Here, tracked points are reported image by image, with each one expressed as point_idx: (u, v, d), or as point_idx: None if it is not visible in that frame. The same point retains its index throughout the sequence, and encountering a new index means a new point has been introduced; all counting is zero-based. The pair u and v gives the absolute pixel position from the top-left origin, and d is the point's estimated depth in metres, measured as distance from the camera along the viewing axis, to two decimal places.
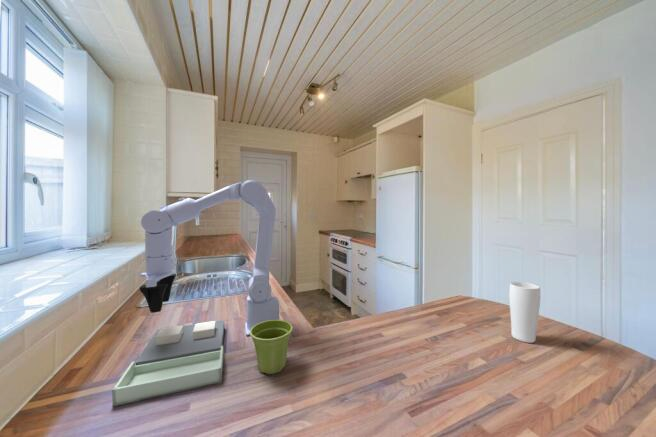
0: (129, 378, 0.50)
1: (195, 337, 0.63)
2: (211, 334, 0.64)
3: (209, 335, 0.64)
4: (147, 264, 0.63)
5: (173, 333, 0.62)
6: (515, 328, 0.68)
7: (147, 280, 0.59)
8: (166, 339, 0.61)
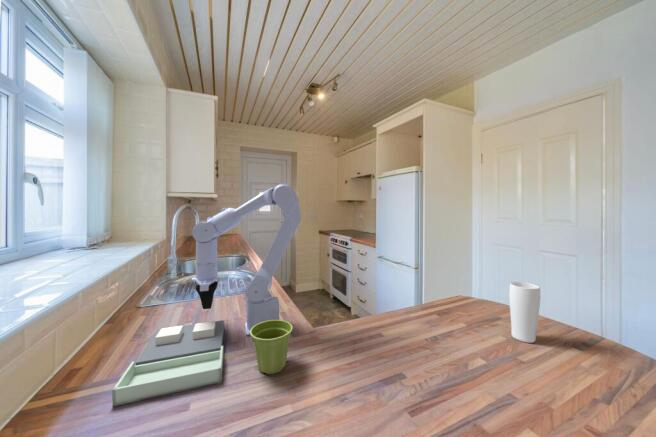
0: (129, 378, 0.50)
1: (195, 337, 0.63)
2: (211, 334, 0.64)
3: (209, 335, 0.64)
4: (198, 270, 0.70)
5: (173, 333, 0.62)
6: (515, 328, 0.68)
7: (201, 285, 0.66)
8: (166, 339, 0.61)
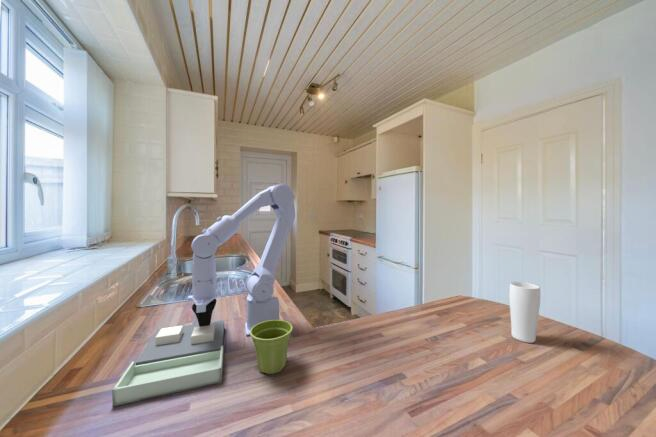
0: (129, 378, 0.50)
1: (194, 342, 0.61)
2: (210, 339, 0.62)
3: (208, 340, 0.62)
4: (194, 288, 0.64)
5: (173, 333, 0.62)
6: (515, 328, 0.68)
7: (197, 306, 0.60)
8: (166, 339, 0.61)
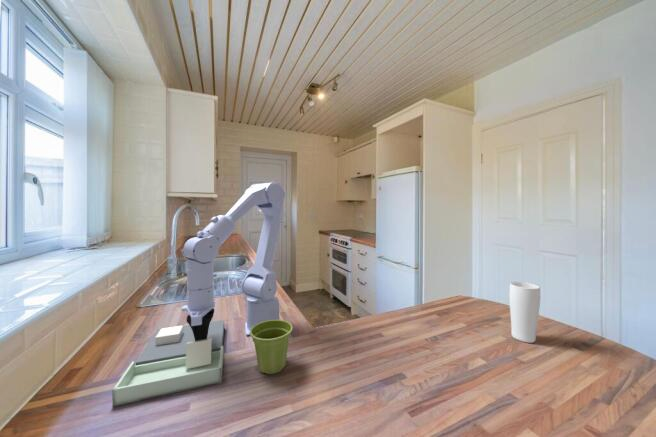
0: (129, 378, 0.50)
1: None
2: None
3: None
4: (189, 297, 0.57)
5: (173, 333, 0.62)
6: (515, 328, 0.68)
7: (193, 318, 0.53)
8: (166, 339, 0.61)
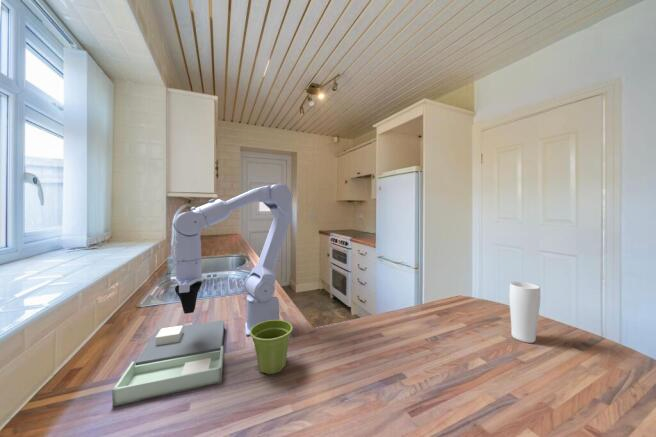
0: (129, 378, 0.50)
1: None
2: None
3: None
4: (178, 268, 0.60)
5: (173, 333, 0.62)
6: (515, 328, 0.68)
7: (180, 285, 0.56)
8: (166, 339, 0.61)
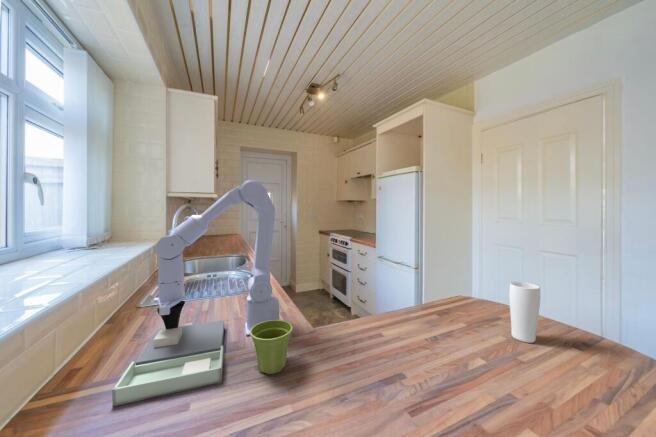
0: (129, 378, 0.50)
1: None
2: None
3: None
4: (160, 290, 0.63)
5: (172, 335, 0.61)
6: (515, 328, 0.68)
7: (160, 308, 0.58)
8: (165, 341, 0.60)
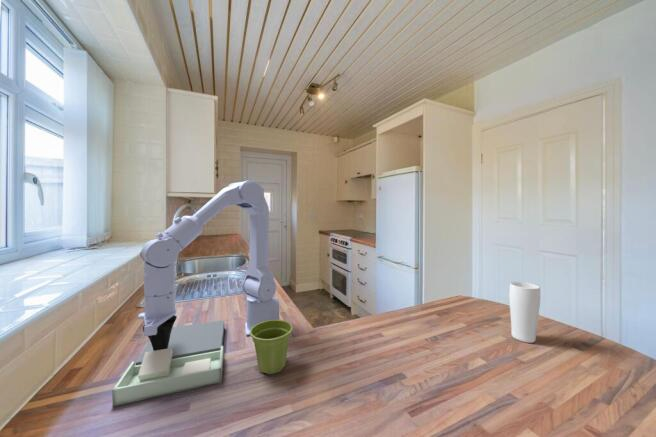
0: (129, 378, 0.50)
1: None
2: None
3: None
4: (146, 304, 0.53)
5: (160, 367, 0.51)
6: (515, 328, 0.68)
7: (146, 327, 0.48)
8: (152, 375, 0.51)
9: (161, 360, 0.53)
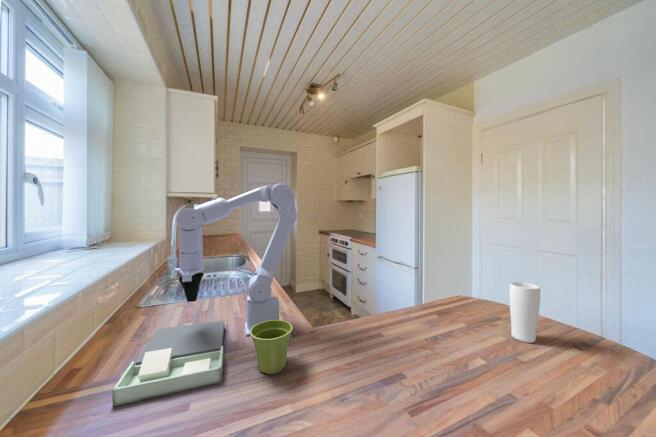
0: (129, 378, 0.50)
1: None
2: None
3: None
4: (181, 260, 0.65)
5: (160, 367, 0.51)
6: (515, 328, 0.68)
7: (183, 275, 0.61)
8: (152, 375, 0.51)
9: (161, 360, 0.53)
